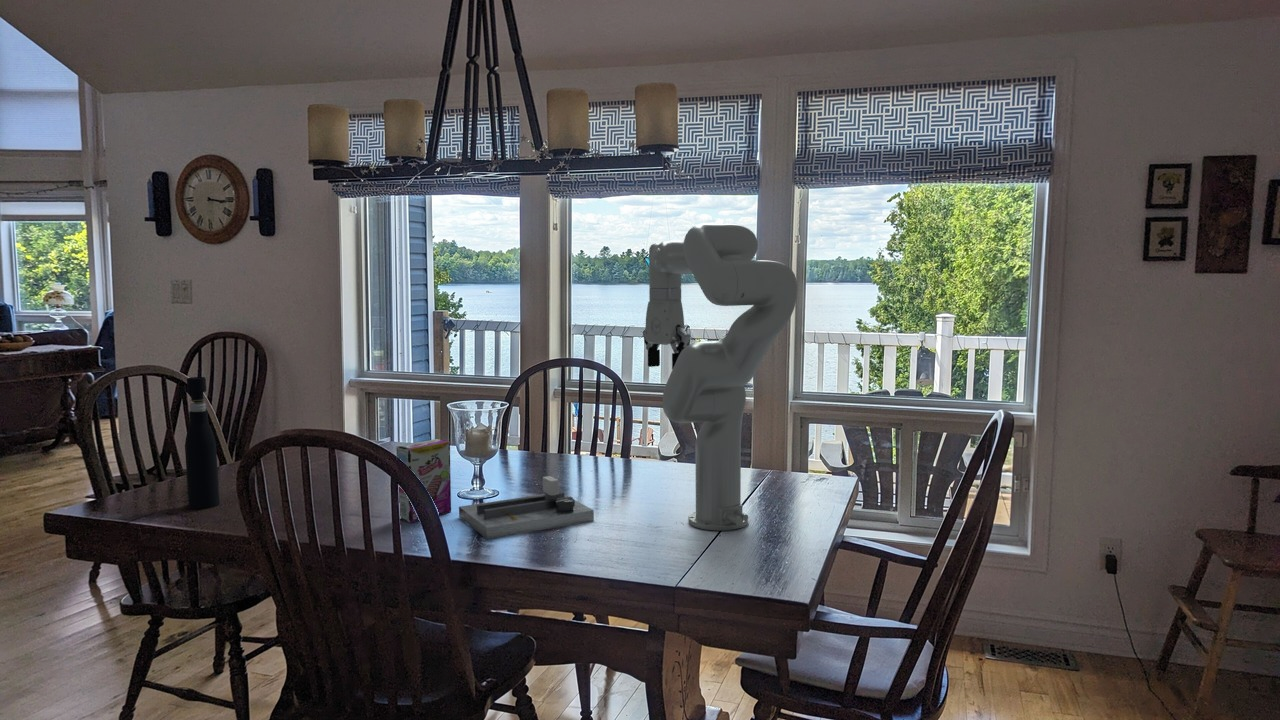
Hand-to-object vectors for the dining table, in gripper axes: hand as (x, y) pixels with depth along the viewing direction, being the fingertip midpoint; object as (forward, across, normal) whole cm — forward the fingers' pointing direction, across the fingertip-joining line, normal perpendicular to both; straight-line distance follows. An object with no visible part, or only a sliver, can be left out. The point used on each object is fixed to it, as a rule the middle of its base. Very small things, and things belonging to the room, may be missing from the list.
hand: (665, 368), depth 202 cm
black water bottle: (+31, -56, -93) cm, 113 cm away
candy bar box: (+31, -17, -54) cm, 64 cm away
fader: (+28, -1, -31) cm, 42 cm away
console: (+30, -1, -37) cm, 48 cm away
